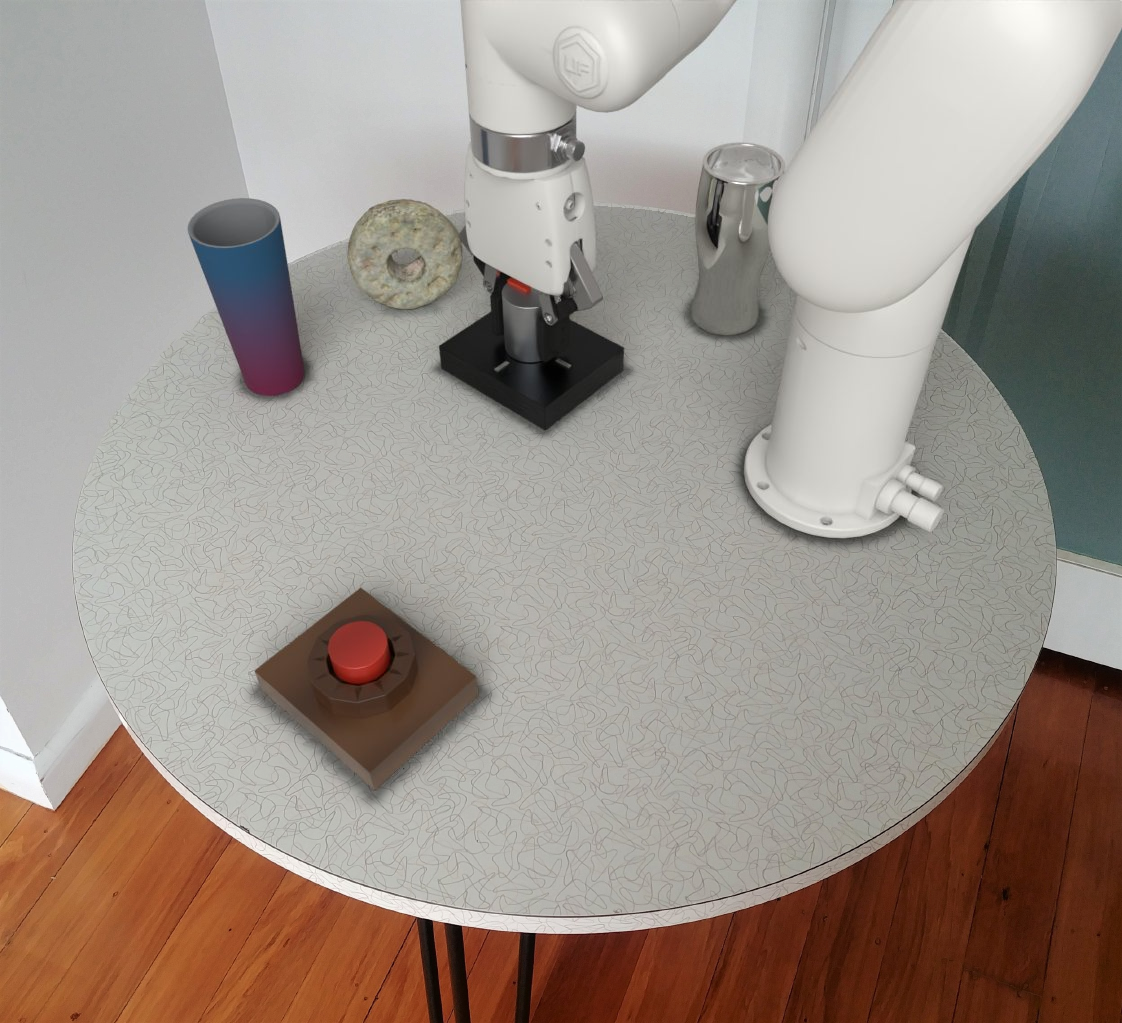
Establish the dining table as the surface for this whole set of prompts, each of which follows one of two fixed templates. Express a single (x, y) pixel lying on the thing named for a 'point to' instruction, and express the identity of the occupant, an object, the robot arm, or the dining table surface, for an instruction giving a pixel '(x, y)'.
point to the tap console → (532, 370)
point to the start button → (359, 652)
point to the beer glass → (733, 234)
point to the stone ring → (398, 230)
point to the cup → (251, 290)
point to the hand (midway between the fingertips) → (530, 338)
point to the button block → (369, 691)
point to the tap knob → (521, 320)
